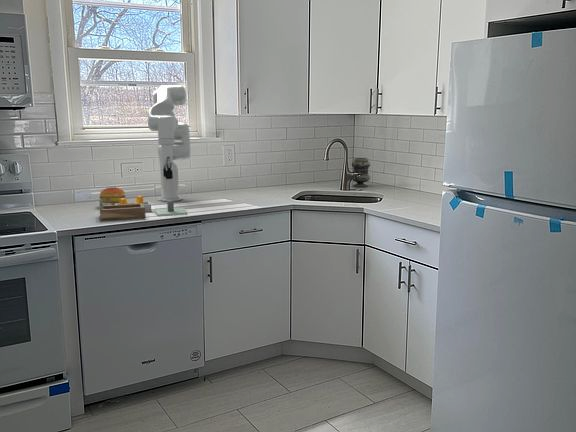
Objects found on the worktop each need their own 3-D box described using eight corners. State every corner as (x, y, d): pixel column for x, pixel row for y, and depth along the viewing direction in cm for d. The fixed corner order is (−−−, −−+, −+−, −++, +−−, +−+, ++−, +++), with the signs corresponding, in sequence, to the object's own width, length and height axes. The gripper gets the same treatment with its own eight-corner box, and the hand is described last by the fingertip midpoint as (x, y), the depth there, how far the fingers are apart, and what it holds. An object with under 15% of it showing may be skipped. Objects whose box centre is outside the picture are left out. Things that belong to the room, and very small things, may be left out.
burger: (130, 204, 302) (129, 185, 300) (121, 209, 288) (120, 189, 286) (105, 204, 302) (104, 185, 300) (95, 208, 289) (94, 189, 287)
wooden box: (100, 216, 271) (99, 199, 269) (143, 213, 277) (142, 197, 276) (100, 220, 260) (99, 203, 258) (145, 217, 266) (144, 201, 265)
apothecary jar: (365, 188, 353) (366, 159, 350) (347, 186, 359) (348, 158, 356) (372, 185, 363) (373, 157, 360) (355, 184, 369) (356, 156, 366)
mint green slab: (155, 212, 281) (154, 199, 280) (183, 210, 286) (182, 198, 284) (157, 217, 270) (157, 204, 269) (187, 215, 275) (186, 202, 273)
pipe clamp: (125, 212, 278) (124, 199, 276) (120, 211, 280) (119, 198, 279) (145, 209, 287) (145, 196, 285) (140, 208, 289) (139, 195, 288)
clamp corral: (115, 210, 285) (115, 203, 284) (149, 208, 290) (149, 201, 289) (116, 213, 277) (116, 206, 276) (151, 211, 282) (150, 204, 282)
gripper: (156, 141, 278) (158, 176, 281) (160, 143, 262) (162, 180, 265) (172, 141, 280) (173, 175, 283) (176, 143, 264) (178, 179, 267)
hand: (168, 177), depth 274 cm, fingers open, 9 cm apart
